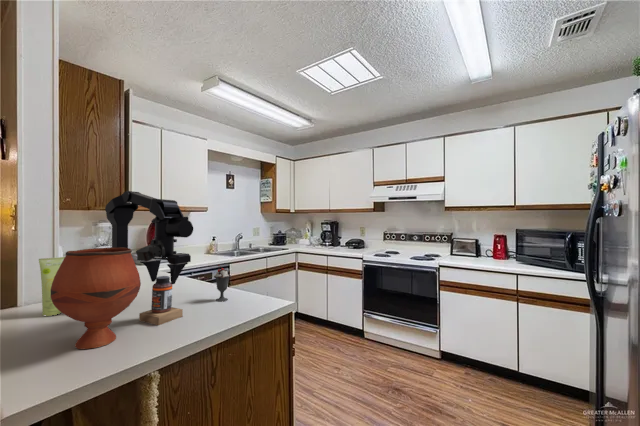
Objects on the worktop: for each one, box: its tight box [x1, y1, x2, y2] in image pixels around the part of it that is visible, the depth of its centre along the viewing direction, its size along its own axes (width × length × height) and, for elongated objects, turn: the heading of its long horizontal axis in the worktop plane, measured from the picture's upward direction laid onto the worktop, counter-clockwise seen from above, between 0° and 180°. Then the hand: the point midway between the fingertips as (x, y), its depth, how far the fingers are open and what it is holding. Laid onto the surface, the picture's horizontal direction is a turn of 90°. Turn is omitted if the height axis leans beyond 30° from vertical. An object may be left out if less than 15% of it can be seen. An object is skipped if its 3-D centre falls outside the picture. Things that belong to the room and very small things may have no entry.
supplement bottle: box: [150, 275, 173, 313], centre depth 94 cm, size 6×6×11 cm
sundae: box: [213, 264, 232, 303], centre depth 117 cm, size 7×7×15 cm
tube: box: [38, 256, 65, 317], centre depth 96 cm, size 6×5×20 cm
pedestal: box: [138, 306, 184, 326], centre depth 94 cm, size 9×9×3 cm
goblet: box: [51, 246, 142, 350], centre depth 76 cm, size 19×19×25 cm
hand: (163, 282), depth 94 cm, fingers open, 9 cm apart
